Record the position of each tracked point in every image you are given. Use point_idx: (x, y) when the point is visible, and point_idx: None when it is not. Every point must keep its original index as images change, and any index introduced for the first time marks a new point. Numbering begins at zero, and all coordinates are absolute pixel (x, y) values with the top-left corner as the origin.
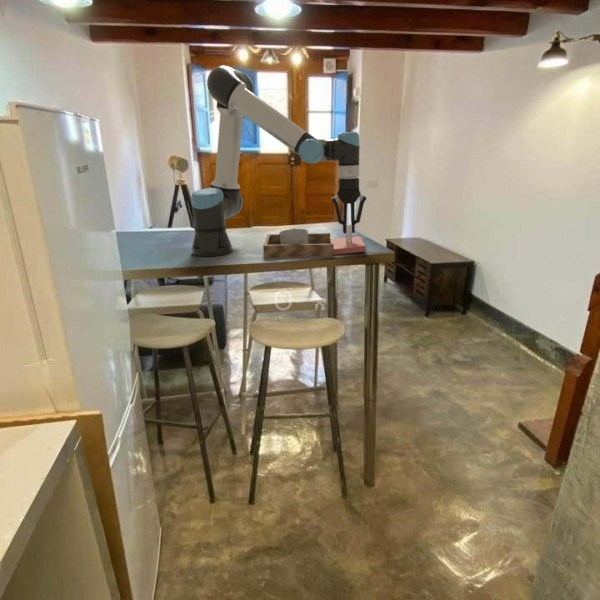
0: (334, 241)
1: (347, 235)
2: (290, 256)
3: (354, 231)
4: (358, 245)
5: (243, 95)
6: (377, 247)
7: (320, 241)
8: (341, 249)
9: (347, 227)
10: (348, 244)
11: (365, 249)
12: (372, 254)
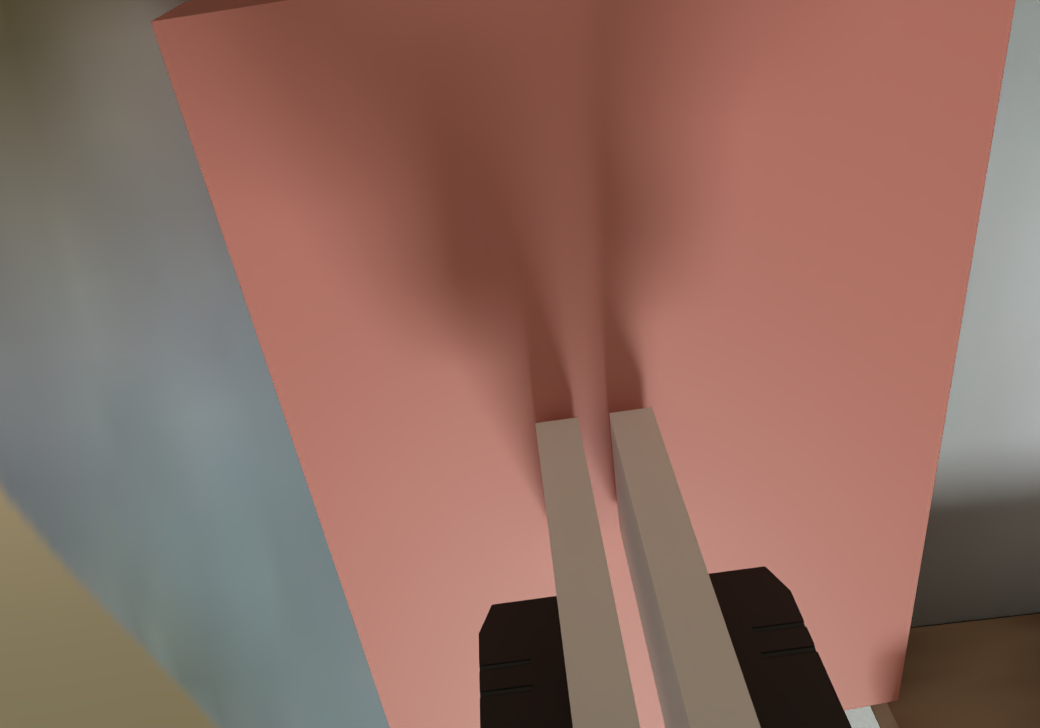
0: (853, 565)
1: (661, 512)
2: None
3: (486, 635)
4: (366, 142)
5: None
6: (110, 541)
7: (1031, 658)
8: None
9: (713, 685)
10: (610, 298)
11: (185, 8)
12: (77, 47)
